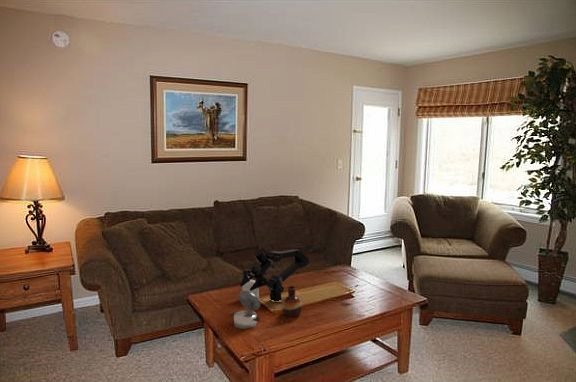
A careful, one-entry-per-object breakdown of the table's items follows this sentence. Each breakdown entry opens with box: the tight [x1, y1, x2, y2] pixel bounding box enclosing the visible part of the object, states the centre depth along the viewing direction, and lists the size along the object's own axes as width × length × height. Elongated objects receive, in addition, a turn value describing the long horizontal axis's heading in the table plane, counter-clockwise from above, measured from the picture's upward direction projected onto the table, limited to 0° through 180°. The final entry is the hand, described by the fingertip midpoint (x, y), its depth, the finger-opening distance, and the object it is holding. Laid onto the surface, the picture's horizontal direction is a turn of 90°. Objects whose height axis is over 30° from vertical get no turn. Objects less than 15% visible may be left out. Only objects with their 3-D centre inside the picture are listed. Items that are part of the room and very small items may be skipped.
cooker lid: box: [237, 290, 261, 311], centre depth 212 cm, size 13×13×2 cm
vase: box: [281, 285, 303, 318], centre depth 218 cm, size 11×11×15 cm
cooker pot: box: [230, 309, 261, 330], centre depth 209 cm, size 12×17×5 cm
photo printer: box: [241, 279, 260, 300], centre depth 240 cm, size 10×4×12 cm, turn 72°
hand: (245, 288), depth 221 cm, fingers open, 9 cm apart
